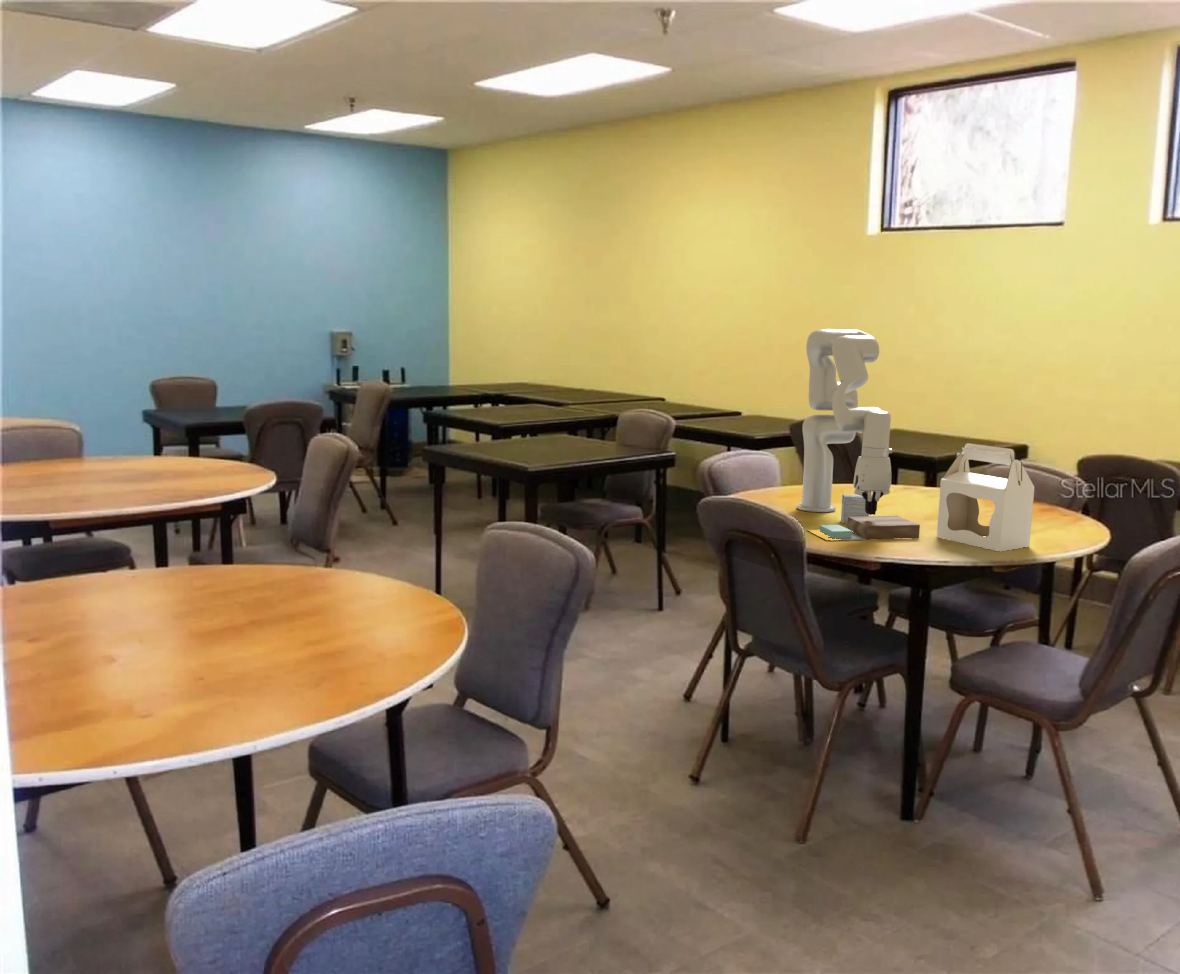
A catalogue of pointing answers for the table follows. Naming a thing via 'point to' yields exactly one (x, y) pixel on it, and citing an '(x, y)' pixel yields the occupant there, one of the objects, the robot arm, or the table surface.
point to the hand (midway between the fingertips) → (870, 513)
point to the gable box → (1007, 495)
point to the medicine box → (852, 507)
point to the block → (836, 531)
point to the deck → (883, 527)
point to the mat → (854, 537)
